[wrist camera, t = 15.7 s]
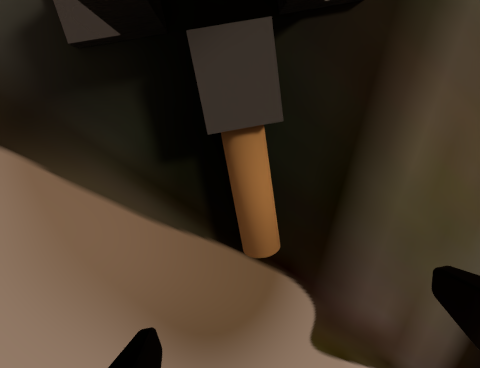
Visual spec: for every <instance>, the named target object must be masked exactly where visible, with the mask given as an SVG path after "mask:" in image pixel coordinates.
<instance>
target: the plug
mask: <svg viewBox="0 0 480 368" xmlns="http://www.w3.org/2000/svg"><path fill="white" fill-rule="evenodd" d="M186 32H187V37H188V42H189V47H190V52H191V56H192V61H193V66H194V71H195V76H196V80H197V85H198V90H199V95H200V100H201V105H202V109H203V114H204V119H205V124H206V129H207V133H208V135H209V134H215V133H220V132H221V136H222V142H223V147H224V152H225V157H226V162H227V168H228V173H229V178H230V183H231V189H232V194H233V199H234V204H235V209H236V215H237V220H238V225H239V230H240V236H241V241H242V246H243V251H244V253H245V254H246V255H247V256H250V257H253V258H265V257H269V256H271V255H273V254H275V253H276V252H277V251H278V250H279V249H280V240H279V233H278V225H277V218H276V211H275V203H274V196H273V189H272V181H271V174H270V167H269V160H268V152H267V145H266V138H265V130H264V124H270V123H275V122H281V121H283V113H282V104H281V95H280V86H279V77H278V69H277V60H276V51H275V42H274V33H273V24H272V16H270V17H264V18H257V19H251V20H245V21H239V22H233V23H227V24H221V25H215V26H209V27H203V28H197V29H191V30H186Z"/></svg>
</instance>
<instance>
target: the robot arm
mask: <svg viewBox="0 0 480 368" xmlns="http://www.w3.org/2000/svg"><path fill="white" fill-rule="evenodd" d="M432 292H433V294H434V296H435V297H436V299H437V300H438V301H439V302H440V304H441V305H442V306H443V307H444V308H445V310H446V311H447V312H448V313H449V314H450V316H451V317H452V318H453V319H454V321H455V322H456V323H457V324H458V325H459V327H460V328H461V329H462V330H463V332H464V333H465V334H466V335H467V336H468V338H469V339H470V340H471V341H472V342H473V343H474V345H475V346H476V347H477V348H478V349H479V350H480V276H479V275H476V274H473V273H470V272H467V271H464V270H461V269H458V268H455V267H451V266H443V267H438V268H435V269H434V270H433V277H432ZM161 361H162V347H161V343H160V341H159V338H158V335H157V332H156V330H155V329H154V328H146V329H142V330H140V331H139V332H138V333H137V334H136V335H135V337H134V338H133V339H132V340H131V341H130V342H129V344H128V345H127V346H126V347H125V348H124V350H123V351H122V352H121V353H120V354H119V355H118V357H117V358H116V359H115V360H114V361H113V363H112V364H111V365H110V366H109V367H108V368H161Z"/></svg>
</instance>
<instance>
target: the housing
mask: <svg viewBox="0 0 480 368" xmlns="http://www.w3.org/2000/svg"><path fill="white" fill-rule="evenodd" d="M53 1H54V4H55V7H56V10H57V13H58V15H59V18H60V21H61V24H62V27H63V30H64V33H65V36H66V39H67V42H68V44H70V45H72V46H74V47H76V48H83V47H89V46H95V45H101V44H107V43H113V42H119V41H125V40H131V39H137V38H143V37H149V36H155V35H160V34H166V33H168V32H167V27H166V23H165V19H164V14H163V10H162V6H161V1H160V0H53ZM277 1H278V10H279V15H280V14H286V13H292V12H298V11H303V10H309V9H315V8H321V7H327V6H333V5H339V4H345V3H351V2H357V1H363V0H277Z"/></svg>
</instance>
